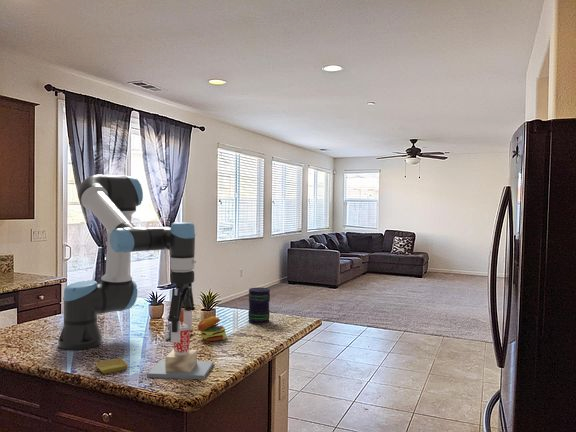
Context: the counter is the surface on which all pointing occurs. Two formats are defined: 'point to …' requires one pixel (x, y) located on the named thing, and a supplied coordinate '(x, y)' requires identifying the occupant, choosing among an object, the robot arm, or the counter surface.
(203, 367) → the board
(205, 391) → the counter surface
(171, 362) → the block
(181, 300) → the robot arm
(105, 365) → the yellow square slab
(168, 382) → the counter surface
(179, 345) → the beverage cup
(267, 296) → the storage jar
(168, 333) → the dark grey crumpled piece
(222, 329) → the cheeseburger
